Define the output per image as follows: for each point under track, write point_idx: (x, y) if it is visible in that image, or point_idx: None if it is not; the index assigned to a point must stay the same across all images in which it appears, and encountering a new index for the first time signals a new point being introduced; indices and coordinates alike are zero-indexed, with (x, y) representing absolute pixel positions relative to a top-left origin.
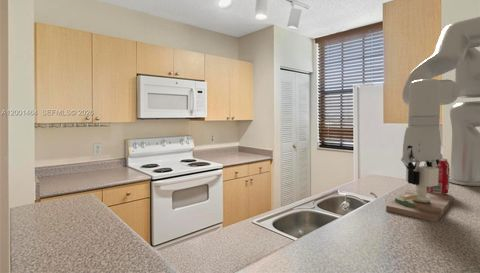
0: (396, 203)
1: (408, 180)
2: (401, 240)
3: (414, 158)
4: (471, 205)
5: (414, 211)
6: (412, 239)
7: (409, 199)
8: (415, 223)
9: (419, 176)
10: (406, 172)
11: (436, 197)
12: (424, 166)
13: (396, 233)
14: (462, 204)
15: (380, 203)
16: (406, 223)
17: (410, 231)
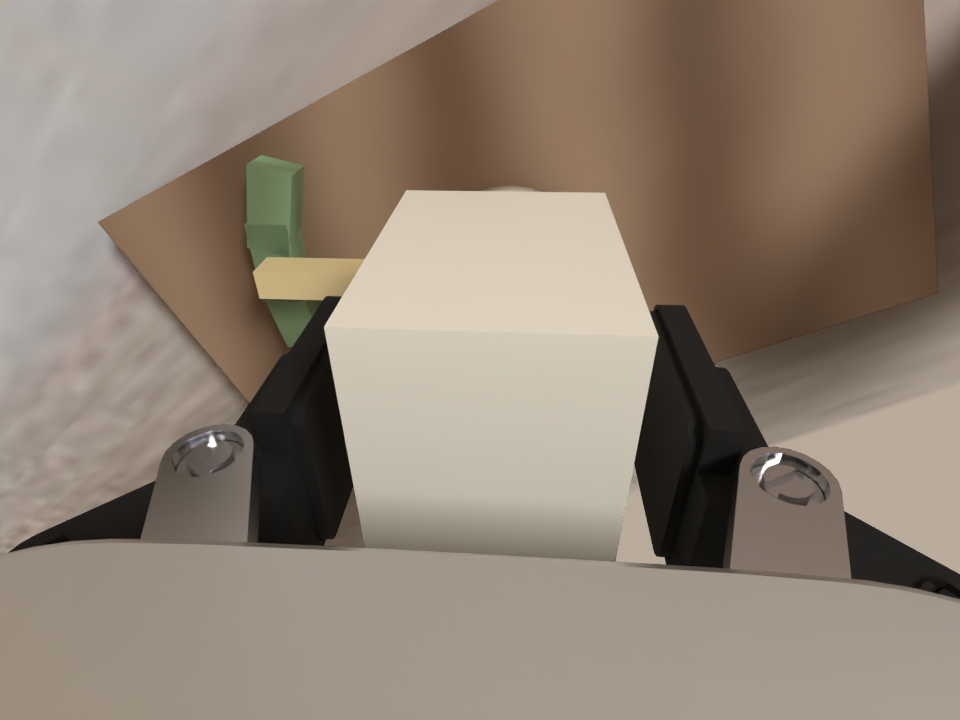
0: (229, 214)
1: (319, 316)
2: (4, 505)
3: (492, 555)
4: (906, 381)
5: (244, 392)
6: (60, 515)
7: (452, 173)
8: (194, 427)
9: (351, 489)
10: (371, 253)
11: (780, 237)
12: (553, 555)
13: (14, 462)
14: (880, 342)
15: (184, 7)
16: (140, 410)
17: (99, 472)
